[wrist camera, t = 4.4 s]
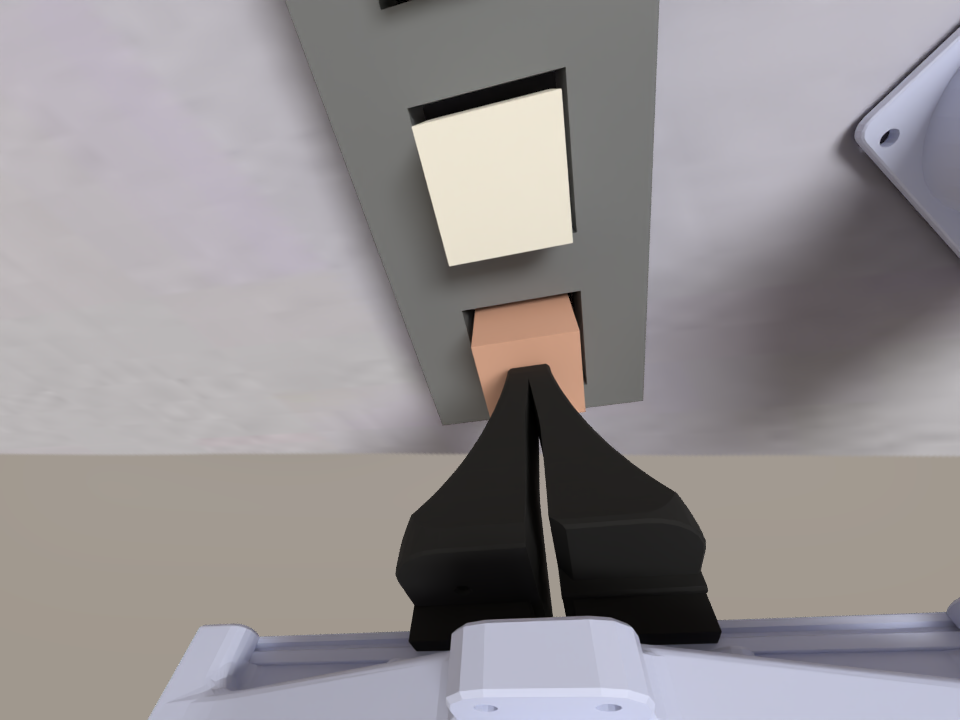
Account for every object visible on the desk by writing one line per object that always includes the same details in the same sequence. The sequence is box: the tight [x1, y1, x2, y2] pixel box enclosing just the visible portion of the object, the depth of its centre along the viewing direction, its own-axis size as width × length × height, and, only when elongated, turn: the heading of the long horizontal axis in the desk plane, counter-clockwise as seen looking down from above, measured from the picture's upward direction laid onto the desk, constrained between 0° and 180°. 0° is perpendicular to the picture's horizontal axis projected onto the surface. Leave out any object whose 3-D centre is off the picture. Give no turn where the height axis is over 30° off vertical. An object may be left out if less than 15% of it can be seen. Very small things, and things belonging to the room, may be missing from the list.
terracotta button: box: [471, 293, 586, 417], centre depth 15 cm, size 4×4×3 cm
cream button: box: [412, 89, 573, 266], centre depth 11 cm, size 4×4×3 cm
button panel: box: [285, 0, 659, 425], centre depth 13 cm, size 20×9×2 cm, turn 12°
